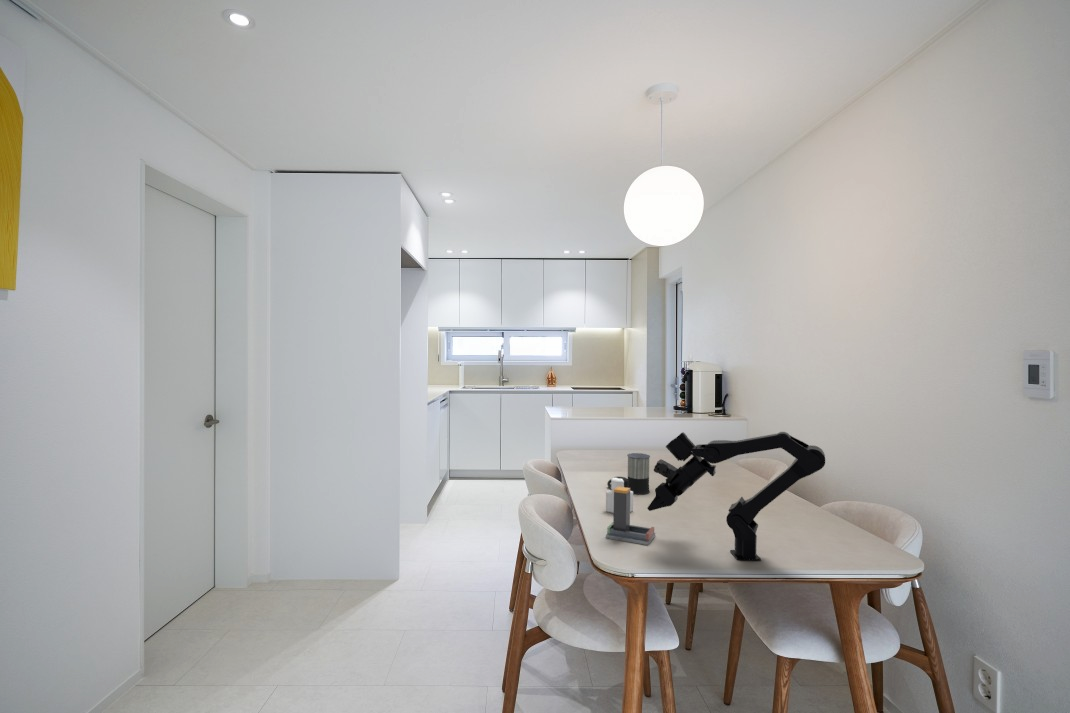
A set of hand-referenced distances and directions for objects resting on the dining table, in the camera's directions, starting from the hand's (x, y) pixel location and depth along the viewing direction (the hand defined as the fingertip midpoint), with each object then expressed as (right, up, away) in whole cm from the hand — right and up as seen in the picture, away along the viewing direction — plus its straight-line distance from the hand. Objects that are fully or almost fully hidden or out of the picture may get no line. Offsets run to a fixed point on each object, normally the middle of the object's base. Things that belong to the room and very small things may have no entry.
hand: (652, 505), depth 165 cm
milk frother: (+2, -10, +58) cm, 59 cm away
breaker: (-9, -9, +4) cm, 13 cm away
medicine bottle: (-6, -10, +29) cm, 31 cm away
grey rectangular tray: (-6, -10, +3) cm, 12 cm away
